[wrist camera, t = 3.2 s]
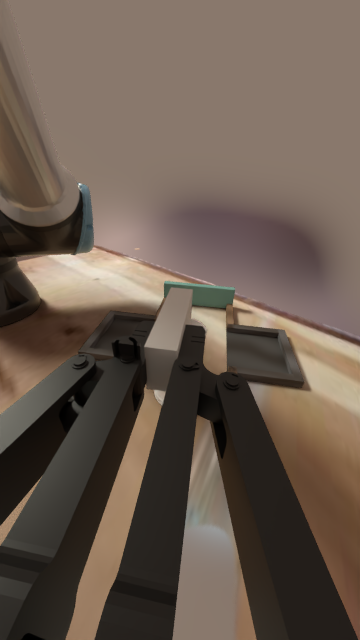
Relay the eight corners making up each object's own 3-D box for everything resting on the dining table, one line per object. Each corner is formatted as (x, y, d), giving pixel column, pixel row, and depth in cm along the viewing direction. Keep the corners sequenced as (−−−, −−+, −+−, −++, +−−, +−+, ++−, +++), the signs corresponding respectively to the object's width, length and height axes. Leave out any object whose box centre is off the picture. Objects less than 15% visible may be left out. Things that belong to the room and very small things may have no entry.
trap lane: (317, 433, 27) (321, 427, 26) (53, 392, 31) (50, 385, 30) (274, 313, 49) (276, 308, 49) (125, 297, 53) (124, 293, 52)
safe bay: (231, 309, 50) (234, 290, 48) (164, 302, 52) (164, 283, 50) (231, 306, 51) (234, 287, 49) (165, 299, 53) (165, 281, 51)
